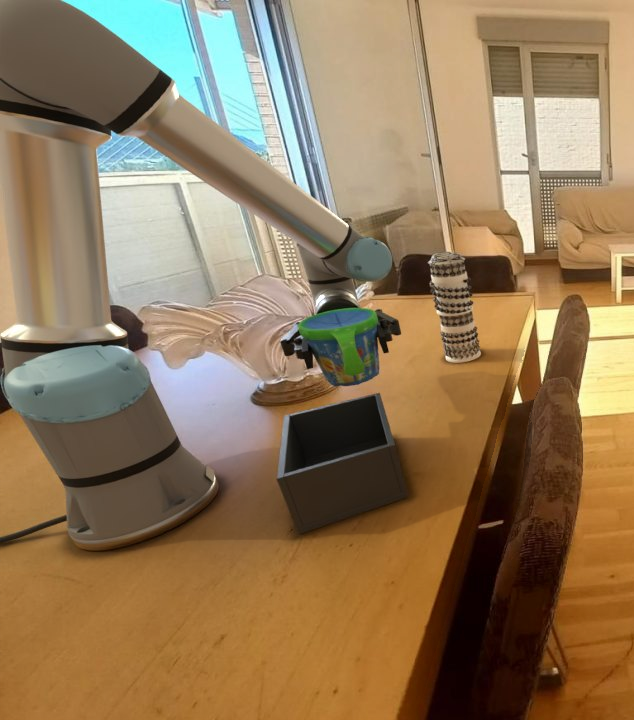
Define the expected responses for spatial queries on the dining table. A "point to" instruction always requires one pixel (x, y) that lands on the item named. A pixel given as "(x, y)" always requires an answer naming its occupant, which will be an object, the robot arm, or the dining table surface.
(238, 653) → the dining table surface
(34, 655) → the dining table surface
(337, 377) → the snack cup
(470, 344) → the decorative candle
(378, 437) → the waste bin
